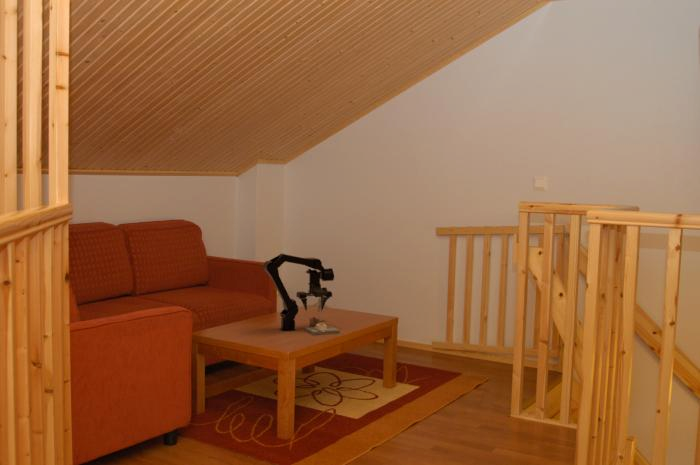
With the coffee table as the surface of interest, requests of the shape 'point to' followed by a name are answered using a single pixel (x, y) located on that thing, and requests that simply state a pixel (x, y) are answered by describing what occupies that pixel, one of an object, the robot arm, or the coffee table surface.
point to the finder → (321, 327)
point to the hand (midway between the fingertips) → (314, 310)
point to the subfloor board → (316, 332)
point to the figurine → (319, 307)
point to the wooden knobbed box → (313, 322)
